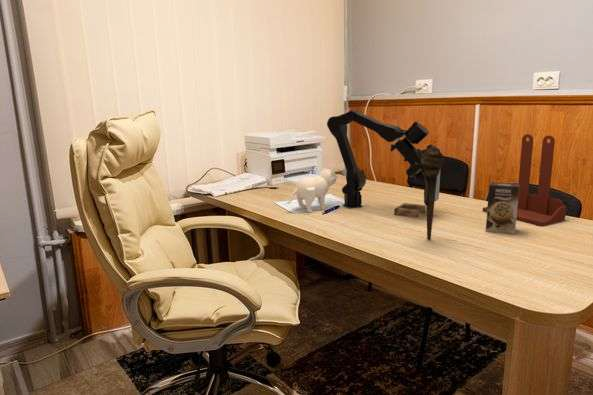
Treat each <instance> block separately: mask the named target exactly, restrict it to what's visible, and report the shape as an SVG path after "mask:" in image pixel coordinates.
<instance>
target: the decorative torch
mask: <svg viewBox="0 0 593 395" xmlns="http://www.w3.org/2000/svg"><path fill="white" fill-rule="evenodd" d="M426 149H427V148H426ZM444 161H445V156H444V155H443V153H442V152H441V150H440V148H438V147H437V148H436V146H435V147H431V148H428V149H427V150H426V151H425V152H424V154H423V155H422V158H421V170H422V173H423V176H424V179H425V181H424V189H423V203H424V205H426V239H427V240H429V241H430V240H431V239H432V229H433V219H434V209H435V202H436V201H435V192H436V183H437V176H438V174H439V172H440V173H441V168H442V167H443V165H444ZM425 175H426V176H425Z"/></svg>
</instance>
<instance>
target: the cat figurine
mask: <svg viewBox="0 0 593 395" xmlns="http://www.w3.org/2000/svg"><path fill="white" fill-rule="evenodd" d="M337 179H338V176H337V175H336V172H335V171H334V170H333V169H330V168H325V167H323V168H322V170H321V171H320V172H319V173H318V175H315V176H313V177H310V178H309V177H304V178H302V179H300V180H299V181H298V182H297V183H296V185H295V188H294V190H293V192H292V193H291V195H290V197H289V200H288V201H287V202H285V204H286V205H289V204H291V203H292V201H293V199H294V196H295V195H296V199H297V200H296V201H297V203H298V206H299V208H301V209H306V211H307V213H314V209H312V208H311V207H312V203H313V202H314V201H315V200H316V198H317V201H318V205H319V207H320V209H322V210H327V207H326V204H325V202H326V201H325V199H326V198H325V197H326V195H327V193H328V191H329V188H330V187H331V186H332V185H334V184H336V182H337ZM304 202H305V204H304Z"/></svg>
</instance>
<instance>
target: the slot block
mask: <svg viewBox="0 0 593 395" xmlns="http://www.w3.org/2000/svg"><path fill="white" fill-rule="evenodd" d="M393 211H394V216H400V217H407V218H415V219H417V218H419V217H420V213H423V214H424V213H425V212H427V209H426V205H425V204H417V203H410V202H409V203H406V202H404V203H401V204H400V205H398V206H397V207H394V208H393Z"/></svg>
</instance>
